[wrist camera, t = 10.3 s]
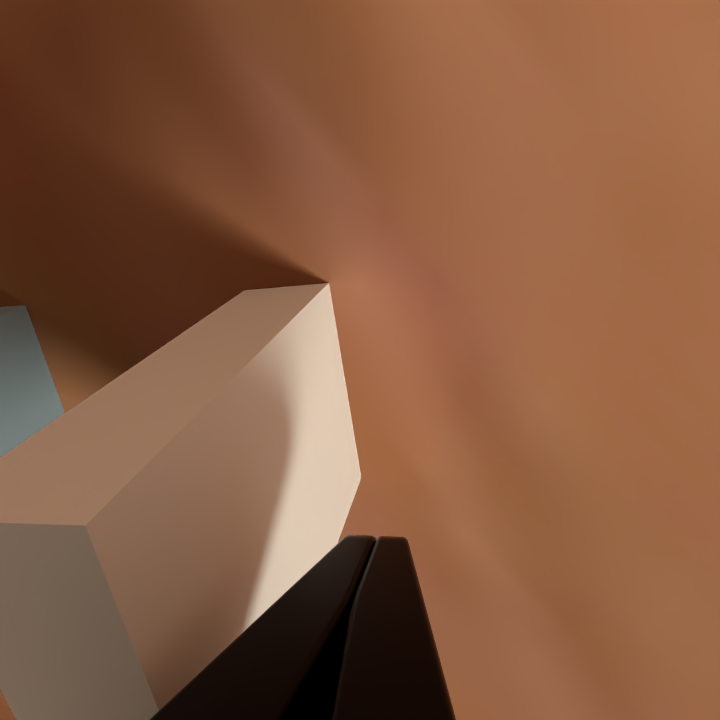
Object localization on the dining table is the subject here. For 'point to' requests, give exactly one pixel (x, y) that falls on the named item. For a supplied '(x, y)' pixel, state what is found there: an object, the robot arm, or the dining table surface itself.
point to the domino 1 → (23, 381)
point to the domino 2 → (173, 509)
